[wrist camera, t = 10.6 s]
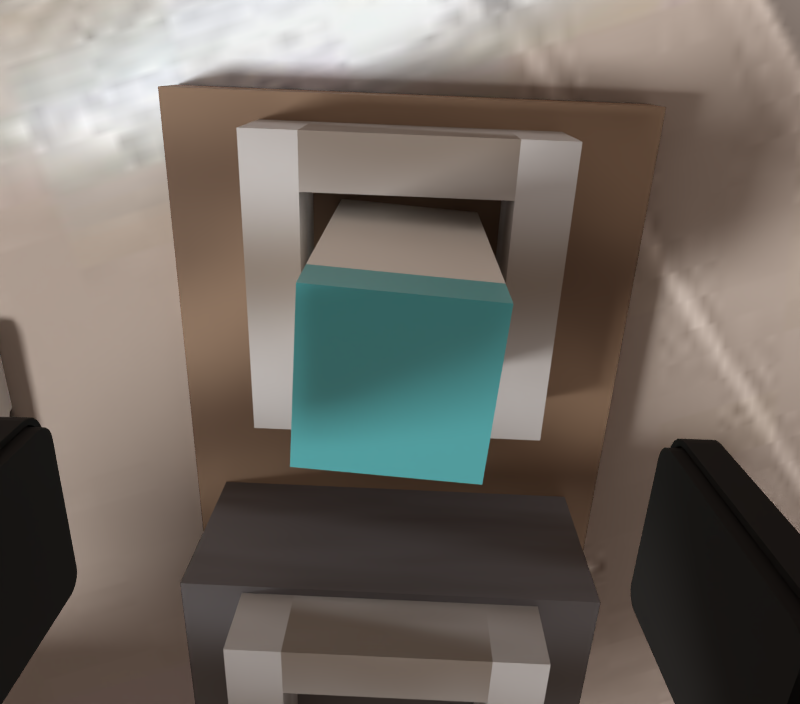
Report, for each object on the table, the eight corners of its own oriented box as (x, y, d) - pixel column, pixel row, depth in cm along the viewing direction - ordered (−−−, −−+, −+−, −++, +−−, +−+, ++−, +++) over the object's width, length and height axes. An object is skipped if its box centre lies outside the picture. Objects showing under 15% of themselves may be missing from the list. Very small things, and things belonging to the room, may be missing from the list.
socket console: (552, 649, 28) (602, 872, 21) (226, 635, 29) (155, 850, 21) (648, 104, 20) (801, 132, 12) (176, 84, 20) (17, 100, 12)
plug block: (459, 337, 21) (481, 484, 14) (334, 325, 21) (289, 467, 14) (477, 212, 19) (513, 304, 12) (342, 199, 19) (295, 282, 12)
